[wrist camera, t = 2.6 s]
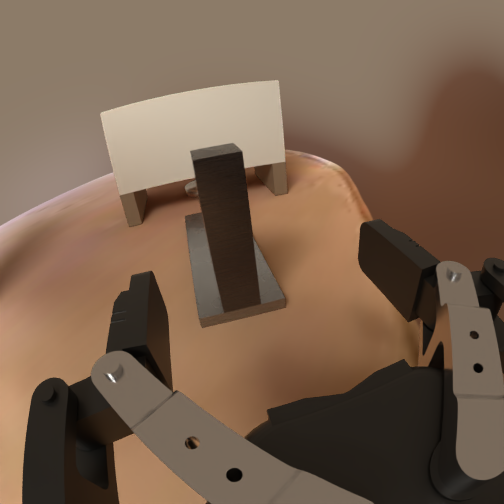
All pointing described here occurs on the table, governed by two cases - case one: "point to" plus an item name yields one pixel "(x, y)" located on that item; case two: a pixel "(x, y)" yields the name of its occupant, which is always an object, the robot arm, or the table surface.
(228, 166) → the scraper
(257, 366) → the table surface
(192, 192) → the steel token
